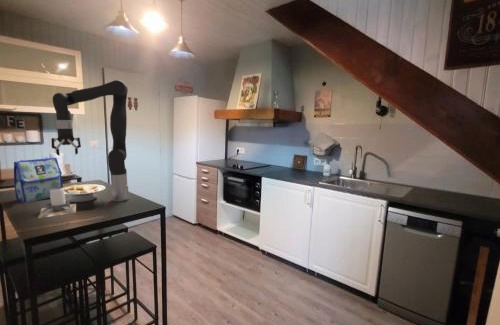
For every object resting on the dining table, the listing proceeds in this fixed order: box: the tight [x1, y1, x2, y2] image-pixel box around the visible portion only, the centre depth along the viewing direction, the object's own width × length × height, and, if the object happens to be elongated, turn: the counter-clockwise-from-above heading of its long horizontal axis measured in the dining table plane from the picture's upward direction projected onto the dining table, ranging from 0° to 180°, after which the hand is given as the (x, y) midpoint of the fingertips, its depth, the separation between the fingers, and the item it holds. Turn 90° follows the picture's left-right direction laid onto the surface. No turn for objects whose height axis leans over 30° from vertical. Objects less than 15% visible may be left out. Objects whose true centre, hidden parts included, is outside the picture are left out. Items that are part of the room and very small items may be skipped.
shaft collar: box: [42, 200, 72, 216], centre depth 141 cm, size 12×17×3 cm
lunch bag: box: [13, 157, 64, 204], centre depth 165 cm, size 22×17×26 cm
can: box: [49, 186, 66, 206], centre depth 143 cm, size 6×6×12 cm
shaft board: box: [37, 203, 77, 219], centre depth 141 cm, size 16×18×2 cm
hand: (67, 154), depth 154 cm, fingers open, 8 cm apart
